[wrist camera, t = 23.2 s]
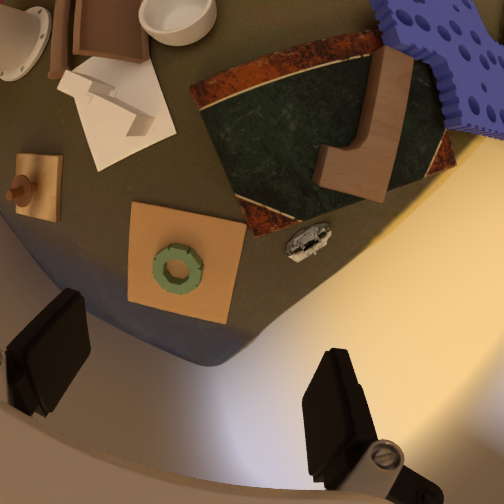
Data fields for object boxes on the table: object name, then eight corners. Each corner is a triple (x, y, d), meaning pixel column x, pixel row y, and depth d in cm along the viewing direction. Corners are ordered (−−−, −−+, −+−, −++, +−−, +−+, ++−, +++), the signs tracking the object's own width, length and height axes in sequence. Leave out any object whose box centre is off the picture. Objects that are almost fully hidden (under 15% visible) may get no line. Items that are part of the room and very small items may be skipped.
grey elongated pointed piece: (278, 244, 34) (285, 255, 36) (289, 258, 32) (295, 269, 35) (321, 214, 33) (325, 228, 36) (333, 228, 32) (336, 240, 34)
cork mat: (128, 299, 38) (127, 300, 38) (133, 200, 33) (131, 201, 32) (226, 322, 39) (226, 324, 38) (247, 223, 33) (247, 224, 33)
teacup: (232, 36, 25) (225, 11, 20) (168, 66, 26) (149, 46, 21) (201, -16, 23) (190, -40, 18) (144, 12, 24) (126, -9, 19)
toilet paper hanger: (82, -17, 23) (32, -27, 14) (148, -60, 18) (98, -84, 9) (78, 96, 30) (17, 100, 22) (149, 61, 25) (79, 49, 17)
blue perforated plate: (538, 132, 22) (526, 133, 24) (472, -16, 16) (463, -10, 19) (445, 162, 20) (427, 164, 23) (339, -50, 15) (330, -37, 17)
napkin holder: (178, 132, 30) (161, 131, 24) (98, 173, 31) (72, 180, 26) (139, 27, 25) (119, 12, 19) (66, 74, 26) (40, 69, 21)
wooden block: (371, 196, 28) (400, 63, 22) (383, 204, 25) (415, 57, 19) (311, 180, 27) (341, 40, 22) (318, 186, 24) (351, 31, 19)
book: (254, 230, 34) (442, 163, 29) (253, 240, 30) (458, 167, 26) (194, 89, 28) (395, 31, 23) (185, 83, 24) (408, 22, 20)
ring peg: (20, 210, 34) (-8, 224, 28) (21, 152, 30) (-10, 158, 24) (60, 220, 34) (31, 235, 28) (63, 155, 31) (31, 161, 25)
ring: (155, 282, 36) (151, 288, 35) (158, 238, 34) (154, 243, 33) (199, 292, 37) (197, 299, 35) (206, 249, 34) (203, 254, 33)
